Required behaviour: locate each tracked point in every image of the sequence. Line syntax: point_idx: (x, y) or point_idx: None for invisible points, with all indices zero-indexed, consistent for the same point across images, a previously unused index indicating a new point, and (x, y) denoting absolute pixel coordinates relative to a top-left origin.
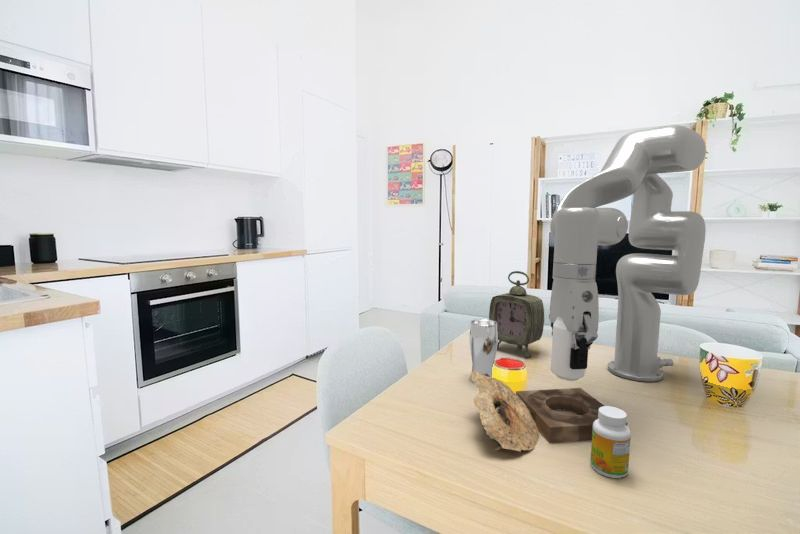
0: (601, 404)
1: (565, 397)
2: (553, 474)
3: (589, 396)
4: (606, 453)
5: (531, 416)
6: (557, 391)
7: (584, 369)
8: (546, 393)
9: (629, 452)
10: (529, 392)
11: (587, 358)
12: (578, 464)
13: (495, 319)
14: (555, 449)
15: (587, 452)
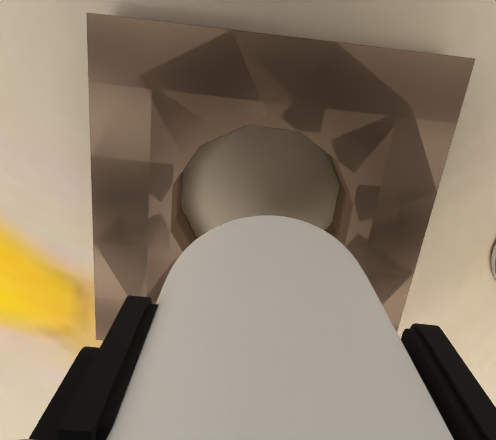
0: (291, 45)
1: (182, 170)
2: (488, 390)
3: (197, 42)
4: None
5: None
6: (118, 172)
7: (365, 277)
8: (132, 233)
9: None
10: (113, 296)
11: (473, 379)
12: (485, 314)
13: None
14: (403, 331)
15: (452, 256)
